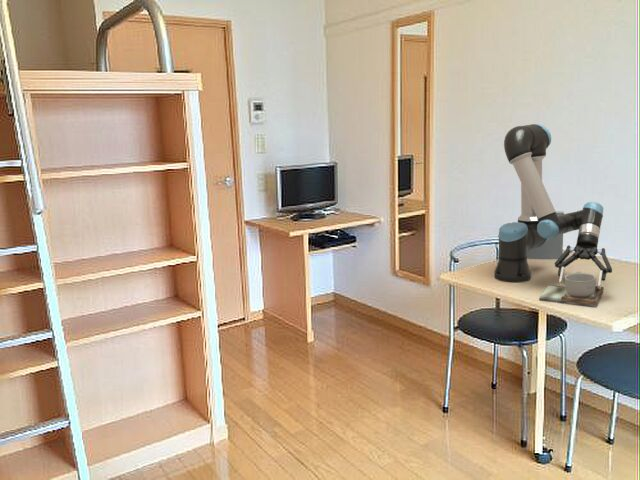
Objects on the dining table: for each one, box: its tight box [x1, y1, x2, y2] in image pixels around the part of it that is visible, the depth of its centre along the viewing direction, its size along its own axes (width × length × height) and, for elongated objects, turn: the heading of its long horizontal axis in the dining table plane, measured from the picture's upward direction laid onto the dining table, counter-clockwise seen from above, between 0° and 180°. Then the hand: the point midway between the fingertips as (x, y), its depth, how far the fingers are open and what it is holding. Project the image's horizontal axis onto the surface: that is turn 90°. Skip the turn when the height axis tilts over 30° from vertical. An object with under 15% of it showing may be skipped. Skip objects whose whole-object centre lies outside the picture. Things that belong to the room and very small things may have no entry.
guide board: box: [538, 284, 604, 308], centre depth 221 cm, size 20×18×2 cm
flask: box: [527, 210, 565, 260], centre depth 272 cm, size 17×5×25 cm, turn 74°
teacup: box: [563, 271, 597, 299], centre depth 219 cm, size 14×11×8 cm
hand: (579, 285), depth 217 cm, fingers open, 13 cm apart
